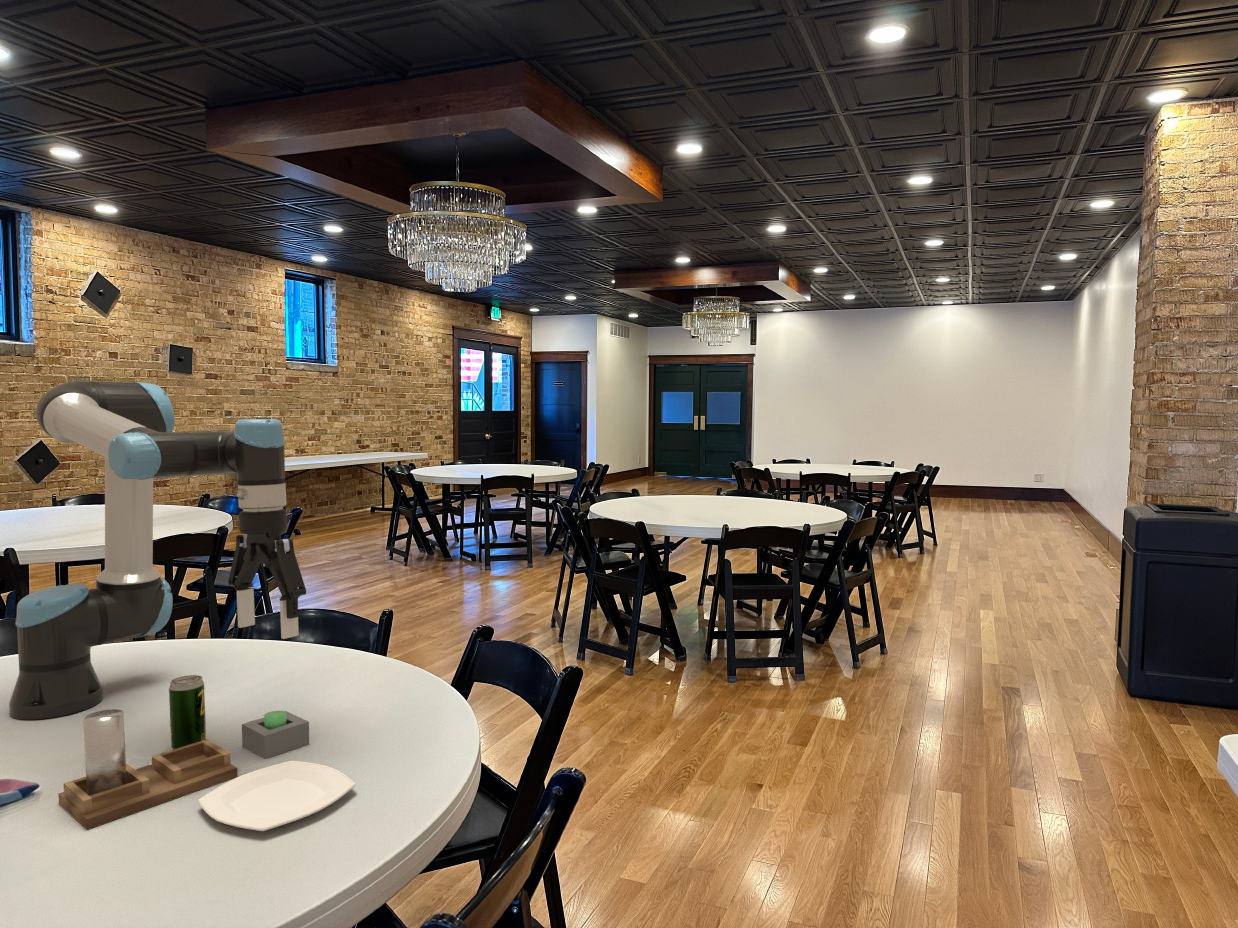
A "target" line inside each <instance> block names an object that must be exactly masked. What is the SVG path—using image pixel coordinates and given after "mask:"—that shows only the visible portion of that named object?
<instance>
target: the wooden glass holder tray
mask: <svg viewBox="0 0 1238 928" xmlns="http://www.w3.org/2000/svg"><path fill="white" fill-rule="evenodd" d="M231 761H232V760H231V752H229V751H227V750H226V749H225V748H222V747H221V746H219V745H217V744H216V743H214V742H212V741H210V740H208V739H207V738H206V740H203V741H200V742H197V743H193V744H190V745H187V746H184V747H180V748H177V749H174V750H173V749H171V750H168V751H165V752H161V753H158V754H155V755H152V756H151V764H148V765H145V766H142V767H139V768H136V769H135V767H132V766H131V765H130V764H129V763H126V781H127V784H125V785H122V786H119V787H116V788H113V789H110V790H107V791H104V792H101V793H98V794H94V795H91V796H89V795H87V788H86V776H83V777H79V778H76V779H73V780H71V781H67V782H64V783H63V792H62V791H61V792H59V793H58V795H57V797H58V798H57V799H58V804H59V806H61V807H62V808H63V809H64V810H66V812H68V814H69V815H70V816H71V817H73V818H74V819H75V820H76V821H77V823H79V824H80V825H82V827H84V829H86V831H87V830H90V829H93V828H96V827H100V826H102V825H105V824H108V823H111V822H113V821H116V820H118V819H121V818H124V817H127V816H130V815H134V814H136V813H138V812H139V813H140V812H141V811H146V810H148V809H150V808H152V807H155V806H158V805H161V804H164V803H167V802H170V801H172V800H176V799H178V798H182V797H183V796H184V797H185V796H186V795H190V794H192V793H196V792H199V791H201V790H204V789H207V788H210V787H214V786H215V785H218V784H221V783H224V782H228V781H231V780H233V779H235V778H237V777H239V776H238V774H239V773H238V772H239V771H238V767H237V766H235V765H234V764H232V762H231Z"/></svg>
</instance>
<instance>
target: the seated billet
mask: <svg viewBox="0 0 1238 928" xmlns="http://www.w3.org/2000/svg"><path fill="white" fill-rule="evenodd" d="M124 713H125V712H124V711H123V710H122V709H117V708H116V709H103V710H98V711H95V712H92V713H89V714H87V715H86V716H84V717H83V719H82V720H83V735H84V736H83V738H84V742H83V743H84V759H85V761H84V762H85V777H86V788H87V795H89V796H91V795H94V794H98V793H101V792H104V791H107V790H110V789H113V788H116V787H119V786H122V785H125V784H127V781H126V764H127V762H126V761H127V760H126V758H127V757H126V743H125V742H126V737H125V714H124Z"/></svg>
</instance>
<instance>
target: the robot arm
mask: <svg viewBox="0 0 1238 928" xmlns="http://www.w3.org/2000/svg"><path fill="white" fill-rule="evenodd" d="M35 417H36V418H35V419H36V422H37V424H38V425H39V427H40V429H41V430H42V431H43V432H44V433H45V434H46V435H48V436H49V437H51V438H53V439H54V440H57V441H59V442H61V443H65V444H78V445H80V446H82V447H84V448H86V449H88V450H90V451H93V452H94V453H96V454H98V455H101V456H102V457H104V569H103V570H102V571H101V572H100V573H99V574H97V575H96V579H95V580H96V581H95V585H96V586H95V588H91V589H89V588H88V586H87V585H86V584H83V583H69V584H65V585H64V584H63V585H62V584H61V585H55V586H49V587H47V588H43V589H40V590H37V591H35V592H31V593H30V594H27V595H26V596H24V597H23V598H21V599H20V600H19V601H18V603H17V605H16V618H15V627H16V631H17V633H16V636H17V637H16V638H17V653H18V654H17V655H18V676H17V679H16V682H15V685H14V689H13V691H12V694H11V697H10V700H9V715H10V716H11V717H12V718H14V719H18V720H27V721H28V720H29V721H30V720H43V719H44V720H45V719H46V720H47V719H51V718H52V719H53V718H58V717H64V716H67V715H71V714H75V713H79V712H82V711H84V710H87V709H90V708H93V707H94V706H96V705H97V704H99V703H101V702H102V700H103V699H104V698H103V697H104V696H103V694H104V693H103V685H102V684H101V682H100V680H99V677H98V675H97V673H96V671H95V668H94V666H93V664H92V661H91V660H92V659H91V648H92V647H97V646H101V645H106V644H111V643H116V642H121V641H125V640H130V639H134V638H136V639H137V638H143V637H145V636H147V635H151V634H155V633H158V632H160V631H161V630H162V629H163V628H164V627H165V626H166V625H167V623H168V622H169V620H170V618H171V614H172V610H173V604H174V603H173V602H174V601H173V600H174V599H173V593H172V592H171V590H172V589H171V585H170V584H169V582H167V580H166V579H164V578H162V577H161V576H162V574H161V572H160V571H159V570H157V568H155V567H154V566H153V562H154V561H153V560H154V559H153V556H154V555H153V553H154V550H153V549H154V548H153V546H154V544H153V543H154V540H153V539H154V527H153V526H154V479H159V478H160V479H161V478H162V479H163V478H174V477H190V476H191V477H192V476H208V475H221V474H222V475H223V474H236V479H237V480H236V481H237V492H236V496H237V499H238V501H237V502H238V508H239V509H242V510H241V511H239V513H238V530H239V533H241V534H237V535H236V537H235V548H234V550H235V551H234V554H233V558H232V559H233V560H232V563H231V568H230V571H229V576H228V581H227V582H228V585H229V586H233V589H234V590H235V591H236V608H237V609H236V610H237V628H240V629H242V628H246V627H250V626H254V625H256V618H255V617H256V616H255V615H256V613H255V597H254V596H255V594H254V593H255V592H254V586H255V585H254V583H253V581H254V579H255V577H256V574H257V572H258V571H259V568H260V566H261V565H264V568H267V569H268V570H269V571H270V573H271V574H272V575H271V576H272V577H273V579H274V583H276V586H277V588H278V590H279V592H280V594H281V597H279V610H280V611H279V612H280V613H279V615H280V634H281V635H280V638H281V639H283V640H285V639H289V638H294V637H298V636H300V635H299V633H300V631H299V598H300V597H302V596H305V595H306V594H307V588H306V586H305V581H304V579H303V576H302V572H301V570H300V566H299V562H298V560H297V557H296V553H295V547H294V546H295V545H294V540H293V538H283V539H282V537H281V533H282V532H285V531H286V530H287V529H288V519H287V518H288V515H287V510H286V509H285V508H284V507H285V506H286V505H287V491H286V486H287V485H286V464H285V463H286V461H285V439H284V432H283V431H284V429H283V424H282V422H281V420H279V419H276V418H253V419H252V418H251V419H249V418H248V419H245V418H244V419H239V420H237V421H236V422H235V425H234V430H233V431H232V430H212V431H179V432H173V430H174V429H175V426H176V425H175V423H176V422H175V412H174V408H173V405H172V402H171V399H170V398H169V396H168V394H167V393H166V391H165V390H164V389H163V388H162V387H160V386H159V385H157V384H155V383H149V382H148V383H146V382H138V381H96V380H95V381H93V380H92V381H89V380H75V381H74V380H73V381H68V382H64V383H61V384H59V385H56V386H54V387H52V388H50V389H49V390H48V391H46V392H44V394H43V395H42V396H41V397H40V399H39V400H38V403H37V405H36V409H35Z"/></svg>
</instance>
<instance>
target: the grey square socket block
mask: <svg viewBox="0 0 1238 928" xmlns="http://www.w3.org/2000/svg"><path fill="white" fill-rule="evenodd" d="M284 711H285V712H286V721H287V724H286V725H283V726H280V727H277V728H274V729H271V730H269V729H267V728H265V727H264V717H260V718H258V719H254V720H251V721H247V722H245V723H242V724H241V744H242V746H241V747H243V748H244V749H246V750H248V751H249V752H252V753H253V754H255V755H257V756H259V757H261V758H262V759H264V760H266V759H269V758H271V757H275V756H278V755H280V754H281V755H282V754H284V753H286V752H289V751H292V750H295V749H299V748H301V747H304V746H307V745H309V744H310V722H309V721H308V720H306V719H304V718H302V717H299V716H298V715H296V714H293V713H290V712H288V711H287V710H284Z"/></svg>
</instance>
